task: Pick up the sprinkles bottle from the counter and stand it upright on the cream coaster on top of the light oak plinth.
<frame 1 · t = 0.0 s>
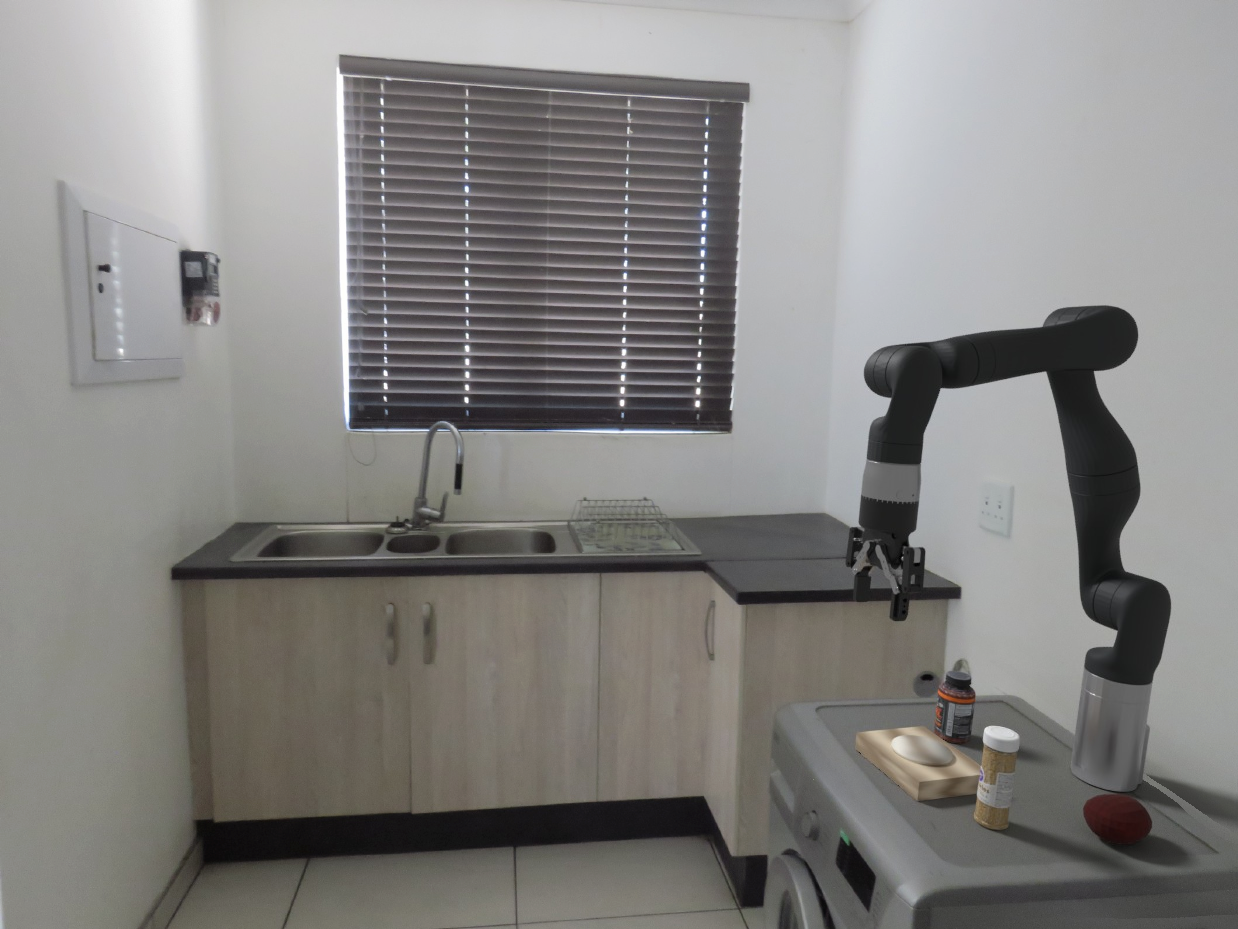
hand: (878, 610, 112), 29 cm above the worktop, tool pointing down, fingers open, 8 cm apart
potato: (1116, 840, 112), on the worktop
sprinkles bottle: (990, 823, 114), on the worktop
plinth: (919, 770, 128), on the worktop
supplement bottle: (951, 738, 141), on the worktop
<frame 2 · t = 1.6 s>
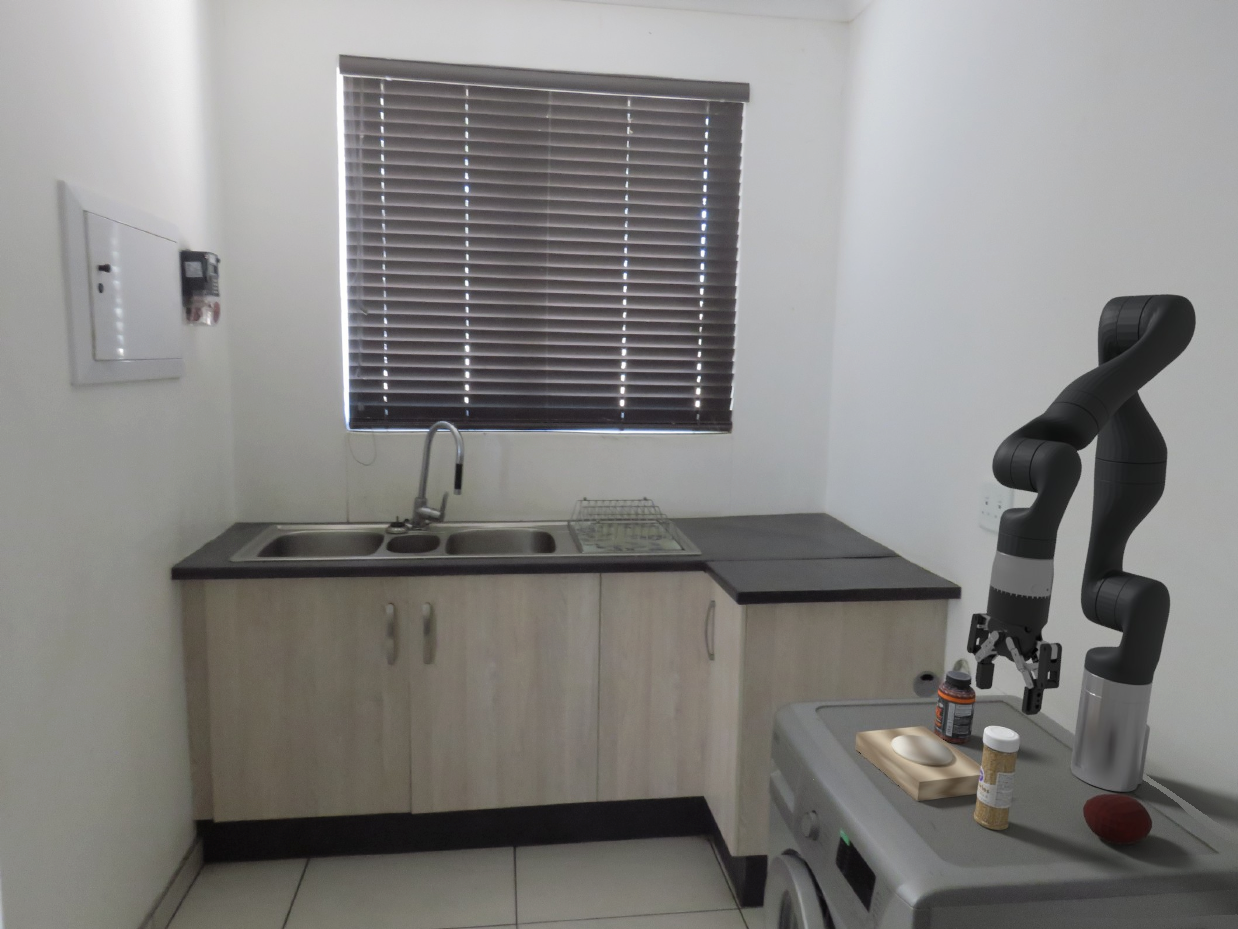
hand: (1005, 700, 112), 18 cm above the worktop, tool pointing down, fingers open, 8 cm apart
nothing on the worktop moved.
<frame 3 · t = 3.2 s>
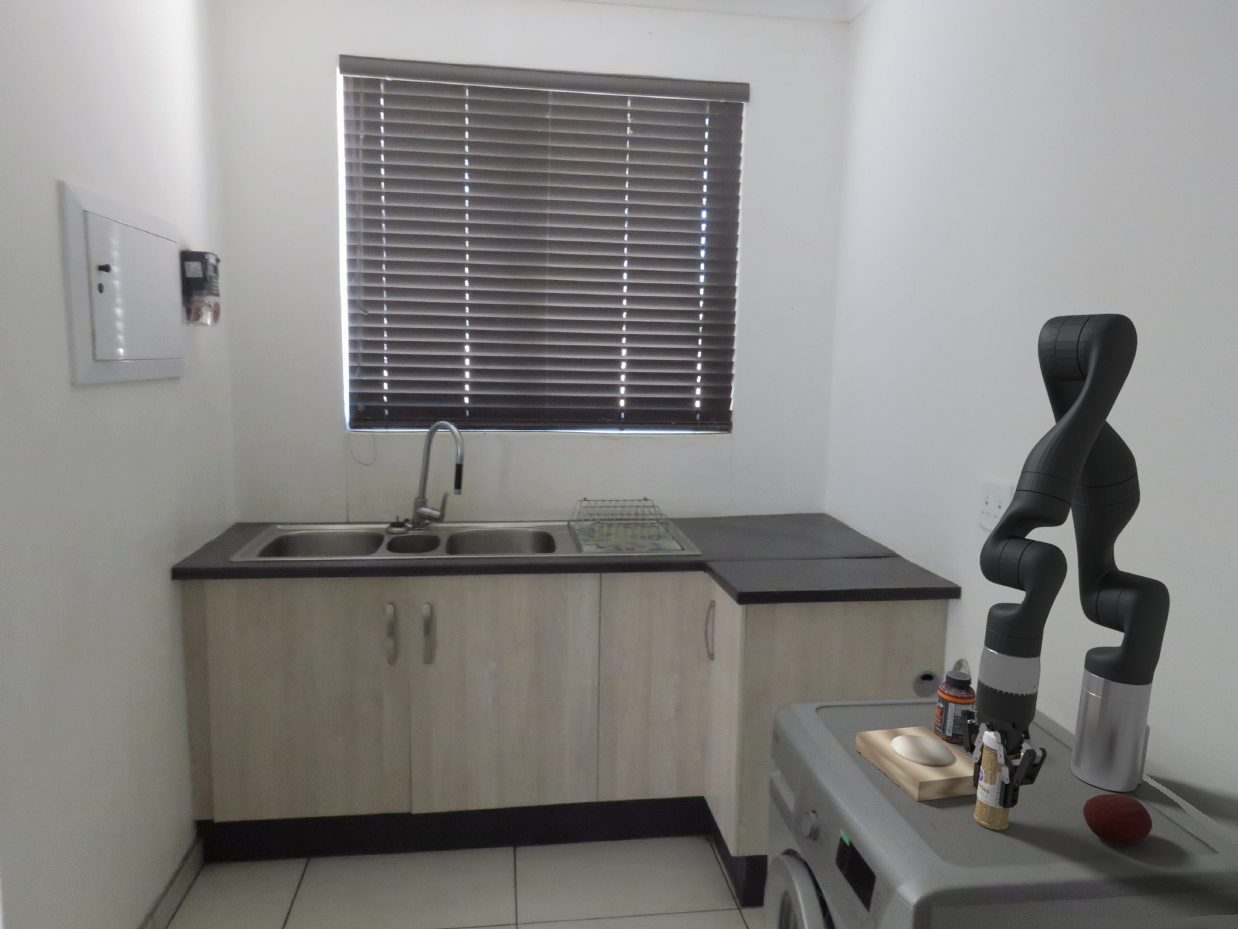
hand: (993, 796, 114), 4 cm above the worktop, tool pointing down, fingers closed on sprinkles bottle, 4 cm apart
sprinkles bottle: (990, 823, 114), on the worktop, touching gripper
everything else where it was.
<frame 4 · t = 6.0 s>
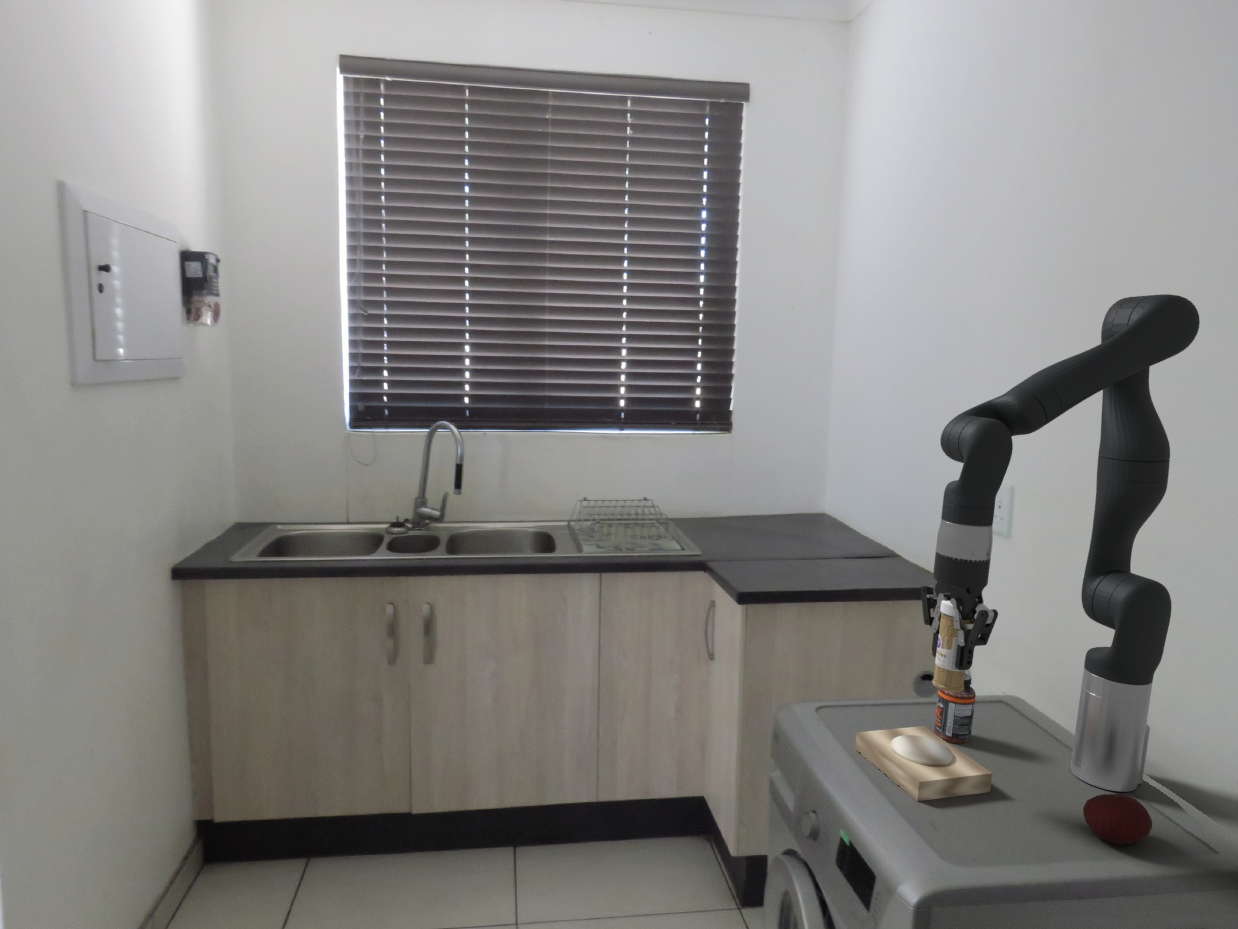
hand: (950, 662, 122), 19 cm above the worktop, tool pointing down, fingers closed on sprinkles bottle, 4 cm apart
sprinkles bottle: (948, 688, 122), point 15 cm above the worktop, touching gripper
everything else where it was.
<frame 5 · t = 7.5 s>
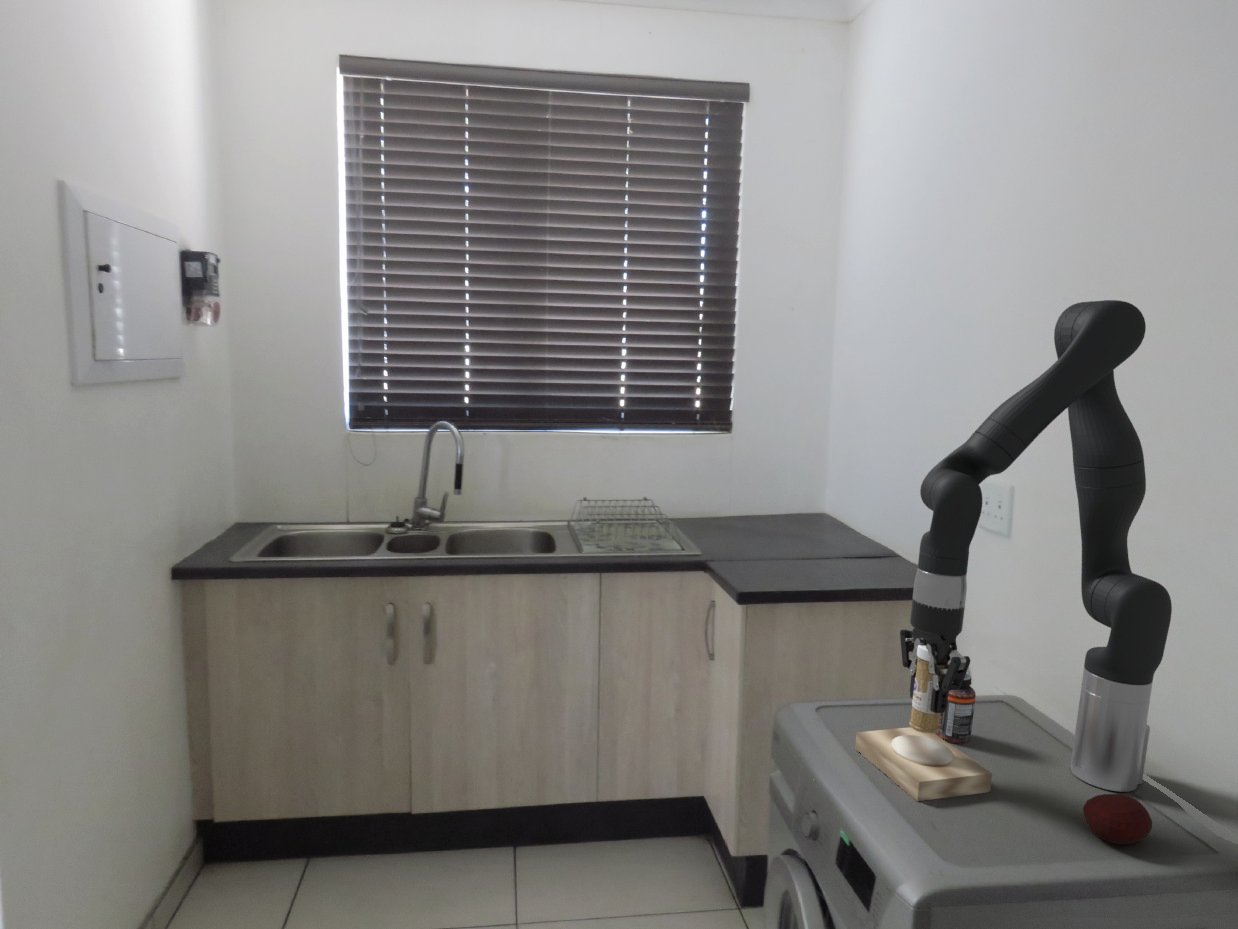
hand: (927, 704, 127), 11 cm above the worktop, tool pointing down, fingers closed on sprinkles bottle, 4 cm apart
sprinkles bottle: (924, 729, 127), point 7 cm above the worktop, touching gripper
everything else where it was.
when the fingers open (8 cm above the worktop, at t = 8.7 s): sprinkles bottle stays where it is, resting on plinth.
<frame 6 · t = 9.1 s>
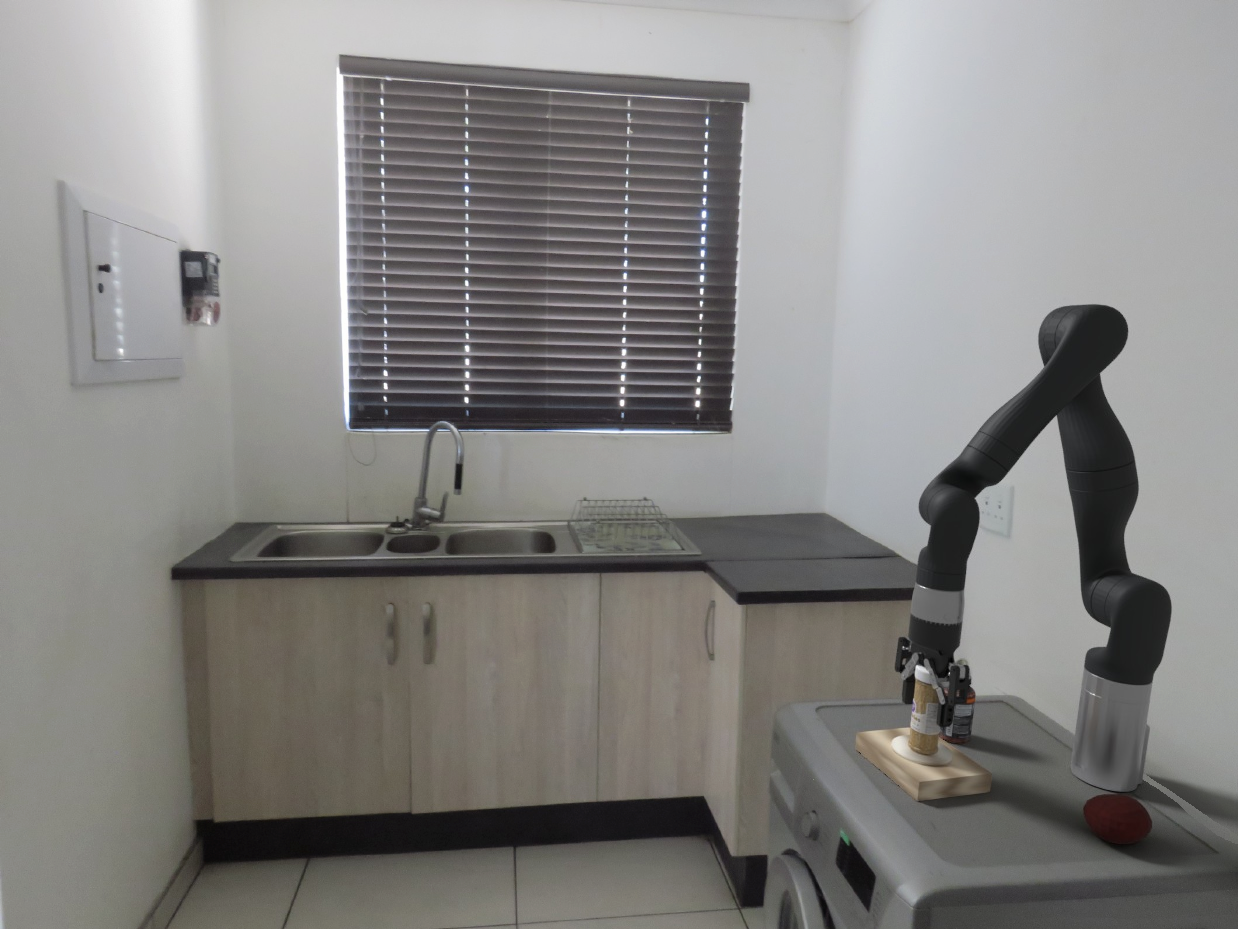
hand: (925, 714, 127), 9 cm above the worktop, tool pointing down, fingers open, 8 cm apart
sprinkles bottle: (922, 750, 127), point 3 cm above the worktop, touching plinth
everything else where it was.
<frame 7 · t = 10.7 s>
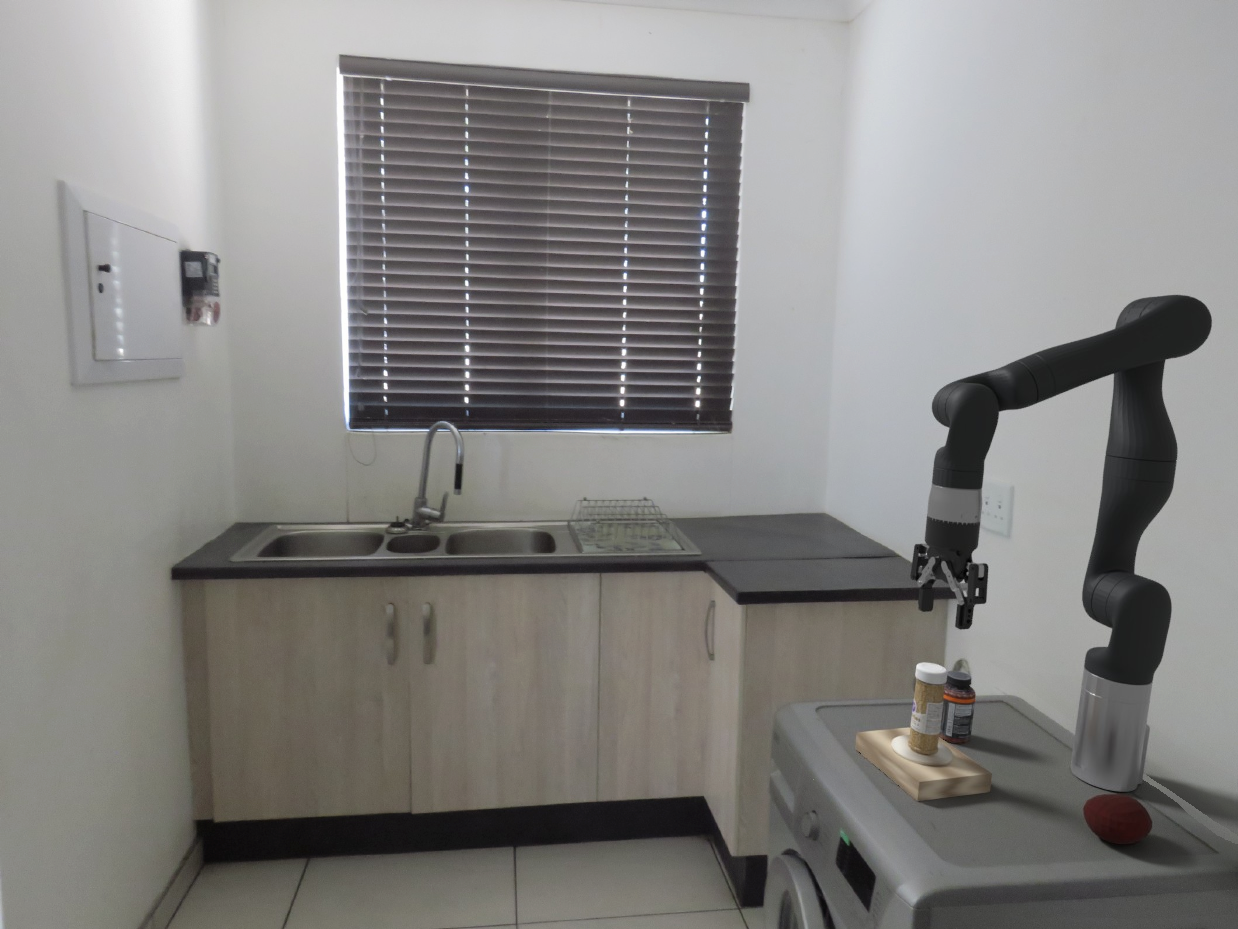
hand: (943, 619, 124), 25 cm above the worktop, tool pointing down, fingers open, 8 cm apart
nothing on the worktop moved.
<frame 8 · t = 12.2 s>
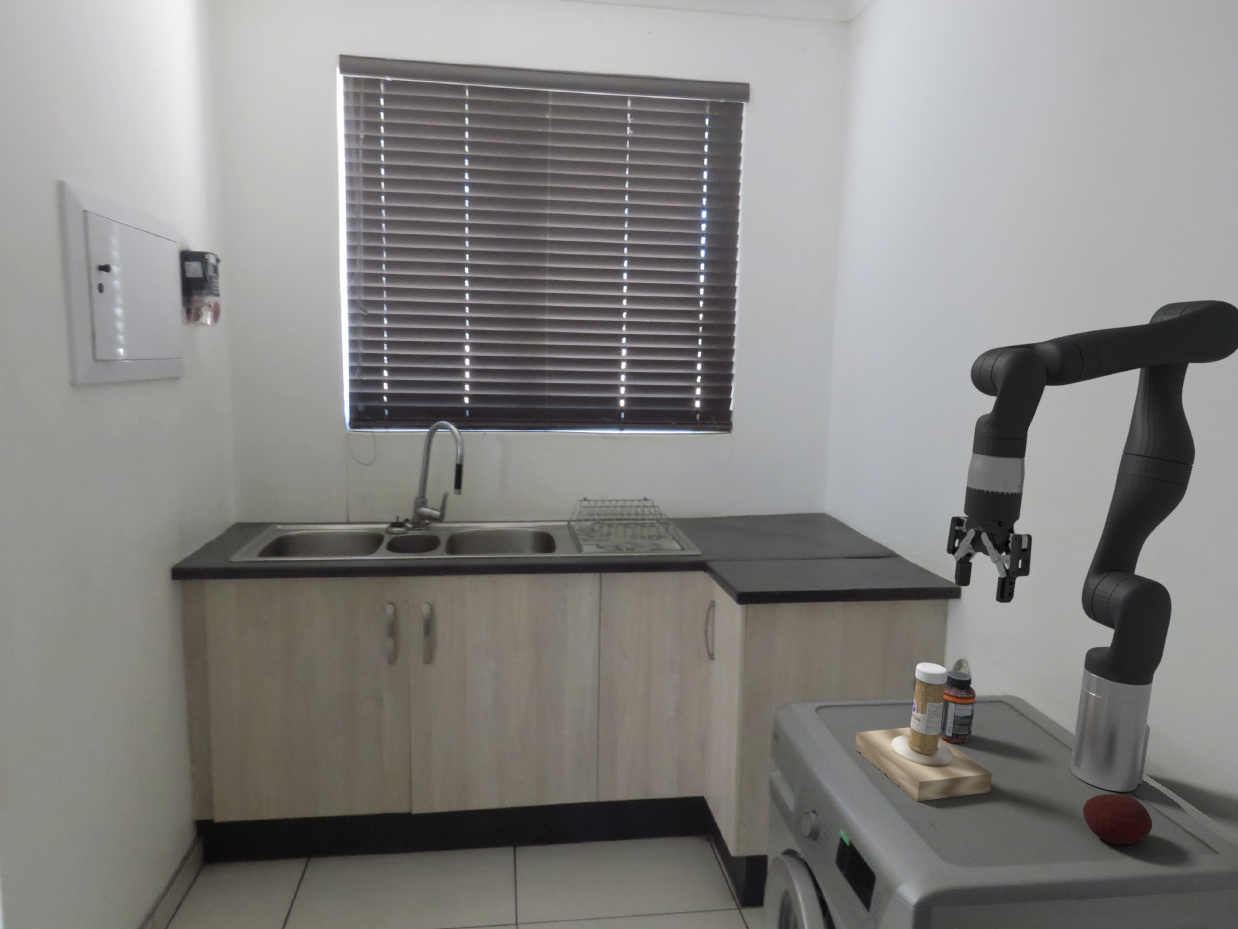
hand: (981, 593, 120), 30 cm above the worktop, tool pointing down, fingers open, 8 cm apart
nothing on the worktop moved.
at the end: sprinkles bottle inside the target area on the plinth (0.2 cm from its centre), point 3.4 cm above the plinth's base; sprinkles bottle tilted 0°; the gripper is holding nothing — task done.
